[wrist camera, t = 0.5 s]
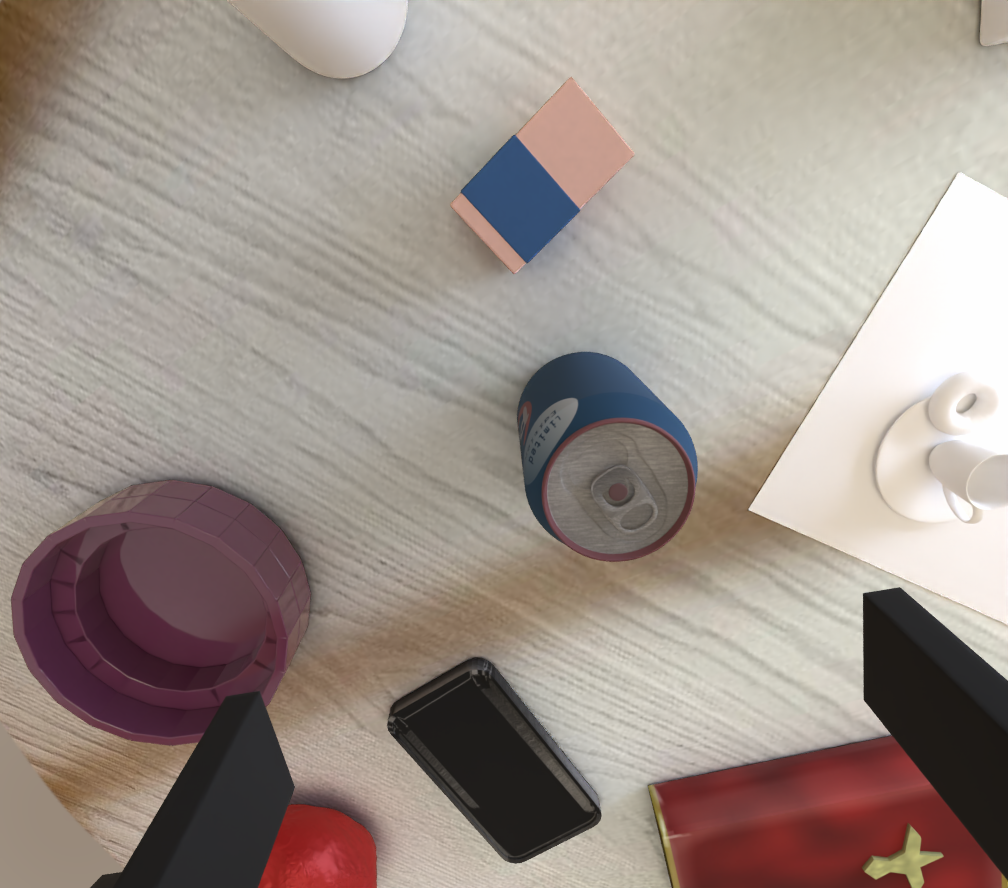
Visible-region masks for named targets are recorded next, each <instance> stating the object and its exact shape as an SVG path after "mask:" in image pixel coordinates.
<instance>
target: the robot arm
mask: <svg viewBox="0 0 1008 888" xmlns="http://www.w3.org/2000/svg"><path fill="white" fill-rule="evenodd" d="M863 656H864V701H865V702H866V703H867V704H868V706H869V707H870V708H871V709H872V711H873V712H874V713H875V715H876V716H877V717H878V718H879V720H880V721H881V722H882V723H883V725H884V726H885V727H886V728H887V730H888V731H889V732H890V733H891V735H892V736H893V737H894V738H895V740H896V741H897V742H898V743H899V745H900V746H901V747H902V749H903V750H904V751H905V752H906V754H907V755H908V756H909V757H910V759H911V760H912V761H913V762H914V764H915V765H916V766H917V767H918V769H919V770H920V771H921V772H922V774H923V775H924V776H925V777H926V779H927V780H928V781H929V782H930V784H931V785H932V786H933V788H934V789H935V790H936V791H937V793H938V794H939V795H940V796H941V798H942V799H943V800H944V801H945V803H946V804H947V805H948V806H949V808H950V809H951V810H952V811H953V813H954V814H955V815H956V816H957V818H958V819H959V820H960V822H961V823H962V824H963V825H964V827H965V828H966V829H967V830H968V832H969V833H970V834H971V835H972V837H973V838H974V839H975V840H976V842H977V843H978V844H979V845H980V847H981V848H982V849H983V850H984V852H985V853H986V854H987V855H988V857H989V858H990V859H991V861H992V862H993V863H994V864H995V866H996V867H997V868H998V869H999V871H1000V872H1001V873H1002V874H1003V876H1004V877H1005V878H1006V879H1007V881H1008V681H1007V680H1006V679H1005V678H1004V677H1003V676H1002V675H1000V674H999V673H998V672H997V671H996V670H995V669H994V668H992V667H991V666H990V665H989V664H988V663H987V662H985V661H984V660H983V659H982V658H981V657H980V656H979V655H977V654H976V653H975V652H974V651H973V650H972V649H970V648H969V647H968V646H967V645H966V644H965V643H964V642H962V641H961V640H960V639H959V638H958V637H957V636H955V635H954V634H953V633H952V632H951V631H950V630H949V629H947V628H946V627H945V626H944V625H943V624H942V623H940V622H939V621H938V620H937V619H936V618H935V617H934V616H932V615H931V614H930V613H929V612H928V611H927V610H926V609H924V608H923V607H922V606H921V605H920V604H919V603H917V602H916V601H915V600H914V599H913V598H912V597H911V596H909V595H908V594H907V593H906V592H905V591H904V590H902V589H901V588H900V587H899V588H893V589H887V590H881V591H875V592H868V593H863ZM294 788H295V786H294V784H293V781H292V778H291V775H290V773H289V770H288V767H287V764H286V762H285V759H284V756H283V753H282V751H281V748H280V745H279V742H278V740H277V737H276V734H275V732H274V729H273V726H272V723H271V721H270V718H269V715H268V712H267V710H266V707H265V704H264V701H263V699H262V696H261V693H260V691H255V692H249V693H243V694H237V695H231V696H226V697H225V699H224V700H223V702H222V704H221V706H220V707H219V709H218V711H217V712H216V714H215V716H214V717H213V719H212V721H211V722H210V724H209V726H208V728H207V729H206V731H205V733H204V734H203V736H202V738H201V739H200V741H199V743H198V745H197V746H196V748H195V750H194V751H193V753H192V755H191V756H190V758H189V760H188V761H187V763H186V765H185V767H184V768H183V770H182V772H181V773H180V775H179V777H178V778H177V780H176V782H175V783H174V785H173V787H172V789H171V790H170V792H169V794H168V795H167V797H166V799H165V800H164V802H163V804H162V805H161V807H160V809H159V811H158V812H157V814H156V816H155V817H154V819H153V821H152V822H151V824H150V826H149V827H148V829H147V831H146V833H145V834H144V836H143V838H142V839H141V841H140V843H139V844H138V846H137V848H136V849H135V851H134V853H133V855H132V856H131V858H130V860H129V861H128V863H127V865H126V866H125V868H124V870H123V871H122V872H120V873H113V874H106V875H102V876H101V877H100V878H99V879H98V880H97V881H96V882H95V883H94V884H93V885H92V886H91V888H258V886H259V884H260V881H261V878H262V875H263V873H264V870H265V867H266V864H267V862H268V859H269V856H270V854H271V851H272V848H273V845H274V843H275V840H276V837H277V835H278V832H279V829H280V826H281V824H282V821H283V818H284V816H285V813H286V810H287V807H288V805H289V802H290V799H291V796H292V794H293V791H294Z"/></svg>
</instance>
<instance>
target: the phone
mask: <svg viewBox="0 0 1008 888" xmlns="http://www.w3.org/2000/svg"><path fill="white" fill-rule="evenodd" d="M387 727H388V731H389V732H390V734H391V735H392V736H393V737H394V738H395V739H396V741H397V742H398V743H399V744H400V745H401V746H402V747H403V748H404V749H405V751H406V752H407V753H408V754H409V755H410V756H411V757H412V758H413V759H414V761H415V762H416V763H417V764H418V765H419V766H420V767H421V768H422V769H423V771H424V772H425V773H426V774H427V775H428V776H429V777H430V778H431V779H432V781H433V782H434V783H435V784H436V785H437V786H438V787H439V788H440V789H441V791H442V792H443V793H444V794H445V795H446V796H447V797H448V798H449V799H450V801H451V802H452V803H453V804H454V805H455V806H456V807H457V808H458V809H459V811H460V812H461V813H462V814H463V815H464V816H465V817H466V818H467V819H468V821H469V822H470V823H471V824H472V825H473V826H474V827H475V828H476V830H477V831H478V832H479V833H480V834H481V835H482V836H483V837H484V838H485V840H486V841H487V842H488V843H489V844H490V845H491V846H492V847H493V848H494V850H495V851H496V852H497V853H498V854H499V855H500V856H501V857H502V858H503V859H504V860H505V861H507V862H510V863H522V862H525V861H527V860H529V859H531V858H533V857H535V856H537V855H539V854H541V853H543V852H545V851H547V850H549V849H551V848H553V847H555V846H557V845H559V844H561V843H563V842H564V841H566V840H568V839H570V838H572V837H574V836H576V835H578V834H580V833H582V832H584V831H586V830H588V829H590V828H592V827H594V826H595V825H597V824H598V823H599V821H600V819H601V809H600V803H599V798H598V796H597V795H596V793H595V792H594V791H593V790H592V788H591V787H590V786H589V785H588V783H587V782H586V781H585V780H584V778H583V777H582V776H581V775H580V773H579V772H578V771H577V770H576V768H575V767H574V766H573V765H572V763H571V762H570V761H569V760H568V758H567V757H566V756H565V755H564V753H563V752H562V751H561V750H560V748H559V747H558V746H557V745H556V743H555V742H554V741H553V740H552V738H551V737H550V736H549V735H548V733H547V732H546V731H545V730H544V728H543V727H542V726H541V725H540V723H539V722H538V721H537V720H536V718H535V717H534V716H533V715H532V713H531V712H530V711H529V710H528V708H527V707H526V706H525V705H524V703H523V702H522V701H521V700H520V698H519V697H518V696H517V695H516V693H515V692H514V691H513V690H512V688H511V687H510V686H509V685H508V683H507V682H506V681H505V680H504V678H503V677H502V676H501V675H500V673H499V672H498V671H497V670H496V668H495V667H494V666H493V665H492V664H491V663H490V662H489V661H487V660H485V659H480V658H475V659H470V660H468V661H466V662H464V663H462V664H461V665H459V666H457V667H455V668H454V669H452V670H450V671H449V672H447V673H445V674H443V675H442V676H440V677H438V678H436V679H435V680H433V681H431V682H429V683H428V684H426V685H424V686H423V687H421V688H419V689H417V690H416V691H414V692H412V693H410V694H409V695H407V696H405V697H403V698H402V699H400V700H398V701H397V702H396V703H394V704H393V706H392V707H391V709H390V714H389V718H388V723H387Z"/></svg>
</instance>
